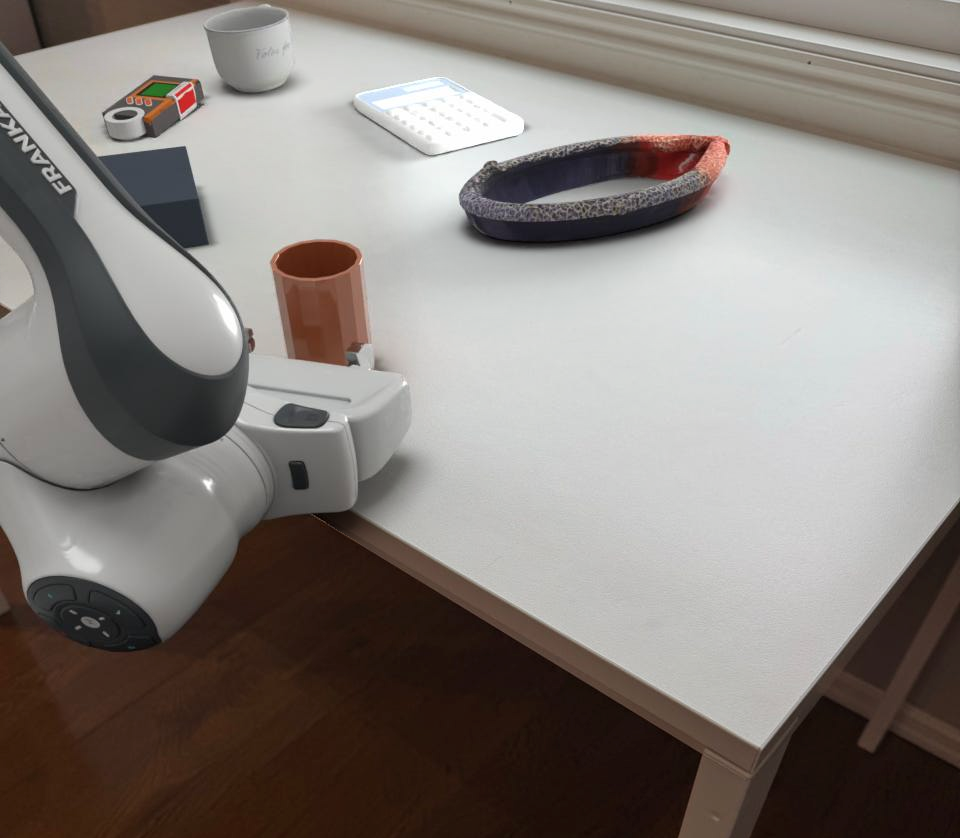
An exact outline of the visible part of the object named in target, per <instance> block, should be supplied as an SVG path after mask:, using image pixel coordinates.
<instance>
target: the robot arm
mask: <svg viewBox="0 0 960 838" xmlns="http://www.w3.org/2000/svg"><path fill="white" fill-rule="evenodd" d="M0 237H1V238H2V240H3V241H4V242H5V243H6V244H7V245H8V247H10V249H11V250H12V251H13V252H14V253H15V254H16V256H17V257H18V258H19V259H20V260H21V262H22V263H23V264H24V266H25V268H26V270H27V272H28V274H29V276H30V279H31V282H32V288H33V295H31V296H30V297H28V298H27V299H25V300H24V301H23V302H22V303H20V304H19V305H18V306H16V307H15V308H14V309H12V310H11V311H9V313H7V314H6V315H5V316H3V317H0V527H1V528H2V530H3V532H4V534H5V535H6V537H7V538H8V541H9V543H10V545H11V547H12V549H13V551H14V554H15V557H16V558H17V561H18V566H19V570H20V577H21V578H20V579H21V586H22V591H23V595H24V598H25V599H26V602H27V604H28V606H29V607H30V608H31V609H32V611H33V613H35V614H36V616H37V617H38V618H39V619H40V620H41V621H42V622H44V623H45V624H46V625H48V627H50V628H52V630H54V631H55V632H57V633H58V634H60V635H61V636H63V637H65V638H67V639H69V640H71V641H72V642H75V643H77V644H79V645H82V646H85V647H87V648H93V649H96V650H101V651H107V652H109V653H132V652H139V651H144V650H149V649H151V648H155V647H157V646H159V645H161V644H163V643H165V642H167V641H169V639H171V638H172V637H173V636H174V635H175V634H176V633H178V632H179V631H180V630H181V629H182V628H183V627H184V626H185V625H186V624H187V623H188V621H190V619H191V618H192V617H193V616H194V615H195V614H196V612H197V611H198V610H199V609H200V608H201V607H202V605H203V604H204V603H205V601H206V600H207V599H208V598H209V597H210V595H211V594H212V592H213V591H214V590H215V588H216V587H217V586H218V584H219V583H220V581H221V580H222V579H223V577H224V576H225V575H226V573H227V572H228V570H229V569H230V568H231V565H232V564H233V562H234V560H235V557H236V556H237V555H236V554H237V551H238V546H239V542H240V540H241V539H242V538H243V537H245V536H246V535H248V534H249V533H250V532H252V531H253V530H254V529H255V528H256V527H257V526H258V525H259V524H260V522H263V521H271V520H276V519H280V518H285V517H291V516H299V515H307V514H308V515H310V514H326V513H342V512H346V511H348V510H351V508H353V507H354V505H355V504H356V502H357V499H358V495H359V483H360V482H363V481H366V480H368V479H371V478H372V477H373V476H375V475H377V474H378V473H379V472H380V471H381V470H382V469H383V468H384V466H386V465H387V463H388V462H389V461H390V459H391V458H392V457H393V455H394V454H395V452H396V451H397V449H398V448H399V446H400V445H401V443H402V442H403V440H404V439H405V437H406V435H407V433H408V432H409V429H410V427H411V424H412V416H413V411H412V408H413V407H412V395H411V389H410V386H409V383H408V382H407V380H406V378H405V377H404V376H403V375H402V374H401V373H397V372H391V371H383V370H376V369H375V370H371V369H372V368H373V366H374V367H375V349H374V345H373V343H372V344H366V343H358V342H352V343H351V346H350V347H348V349H347V350H346V352H345V353H346V360H347V361H348V363H349V364H348V365H347V366H340V365H333V364H326V363H318V362H311V361H304V360H296V359H289V358H287V357H283V356H274V355H268V354H259V353H253V352H254V351H255V349H256V340H255V339H254V337H253V336H254V331H253V329H252V328H250V327H245V325H244V322H243V319H242V316H241V314H240V312H239V310H238V308H237V306H236V304H235V302H234V300H233V299H232V297H231V296H230V295H229V292H227V291H226V289H225V288H224V287H223V285H222V284H221V283H220V282H219V280H218V279H217V278H215V276H214V274H212V273H211V272H210V271H209V270H208V269H207V268H206V267H205V266H204V265H203V264H202V263H201V262H200V261H199V260H198V259H197V258H195V257H194V256H193V254H191V253H190V252H189V251H188V250H186V248H183V247H182V246H181V245H180V244H178V243H177V242H176V241H175V240H174V239H173V238H172V237H171V236H170V235H168V234H167V233H166V232H165V231H164V230H163V229H162V228H161V227H160V226H158V225H157V224H156V223H155V222H154V221H153V220H152V219H151V218H150V217H149V216H148V215H147V214H146V213H145V212H144V210H143V209H142V208H141V207H140V206H139V205H138V204H137V203H136V202H135V201H134V199H133V198H132V197H131V196H130V195H129V194H128V192H127V191H126V190H125V189H124V188H123V186H122V185H121V184H120V183H119V182H118V181H117V179H116V178H115V177H114V176H113V175H112V173H111V172H110V171H109V170H108V169H107V167H106V166H105V165H104V164H103V163H102V162H101V160H100V159H99V158H98V156H97V154H96V153H95V151H93V149H92V148H91V146H89V145H88V144H87V142H86V141H85V140H84V138H82V136H81V135H80V134H79V133H78V132H77V131H76V129H75V128H74V127H73V126H72V125H71V123H70V122H69V121H68V120H67V118H65V116H64V115H63V114H62V112H61V111H60V110H59V109H58V108H57V107H56V106H55V104H54V103H53V102H52V101H51V99H50V98H49V97H48V96H47V95H46V94H45V92H44V91H43V90H42V89H41V87H40V86H39V85H38V84H37V83H36V82H35V80H34V79H33V78H32V77H31V76H30V74H29V73H28V72H27V71H26V69H24V67H23V66H22V65H21V64H20V63H19V61H18V60H17V59H16V57H14V55H13V54H12V53H11V52H10V50H9V49H8V48H7V47H6V46H5V44H3V42H2V41H1V40H0Z"/></svg>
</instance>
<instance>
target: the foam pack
mask: <svg viewBox="0 0 960 838" xmlns="http://www.w3.org/2000/svg"><path fill="white" fill-rule="evenodd" d="M97 157H98V158H99V159H100V160H101V162H102V163H103V164H104V165H105V166H106V167H107V169H108V170H109V171H110V172H111V173H112V175H113V176H114V177H115V178H116V179H117V181H118V182H119V183H120V184H121V185H122V186H123V188H124V189H125V190H126V191H127V192H128V194H129V195H130V196H131V197H132V198H133V199H134V201H135V202H136V203H137V204H138V205H139V206H140V207H141V208H142V209H143V210H144V212H145V213H146V214H147V215H148V216H149V217H150V218H151V219H152V220H153V221H154V222H155V223H156V224H157V225H158V226H160V227H161V228H162V229H163V230H164V231H165V232H166V233H167V234H168V235H170V236H171V237H172V238H173V239H174V240H175V241H176V242H177V243H178V244H180V245H181V246H182V247H183V248H184V249H189V248H194V247H201V246H208V245H210V242H209V238H208V234H207V229H206V224H205V220H204V215H203V211H202V207H201V202H200V198H199V194H198V193H199V192H198V189H197V186H196V185H197V184H196V181H195V177H194V174H193V169H192V165H191V162H190V158H189V152H188V149H187V146H186V145H181V146H173V147H172V146H171V147H166V148H165V147H164V148H157V149H148V150H140V151H134V152H133V151H132V152H131V151H130V152H125V153H124V152H122V153H115V154H108V155H99V156H97Z"/></svg>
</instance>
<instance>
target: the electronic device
mask: <svg viewBox="0 0 960 838" xmlns="http://www.w3.org/2000/svg"><path fill="white" fill-rule="evenodd" d="M203 91H204V90H203V87H202V82H201V80H200V79H197V78H189V77H188V78H187V77H177V76H168V75H167V76H165V75H155V74H153V75H152V76H150V77H149V78H148V79H146V80H145V81H143V82H142V83H141V84H140V85H138V86H137V87H136V88H134V89H132V90H131V91H130V92H129V93H127V94H126V95H124V96H123V97H121V98H120V99H119V100H118V101H116V102H114V103H113V104H112V105H110V106H109V107H107V108H106V109H105V110H103V111H102V112H101V114H102V118H103V121H104V125H105V128H106V131H107V133H108V135H109V136H110V138H113V139H116V140H129V139H136V138H139V137H151V138H157V137H158V136H159V135H161V134H162V133H163V132H164V131H166V130H167V129H168V128H169V127H171V126H172V125H173V124H174V123H176V122H177V121H178V120H179V121H182V120H183V119H184V118H185V117H187V116H188V115H189V114H191V112H192V111H194V110H195V109H196V108H197V107H198V104H199V103H200V102H201V101H204V99H205V95H204V92H203Z"/></svg>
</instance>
